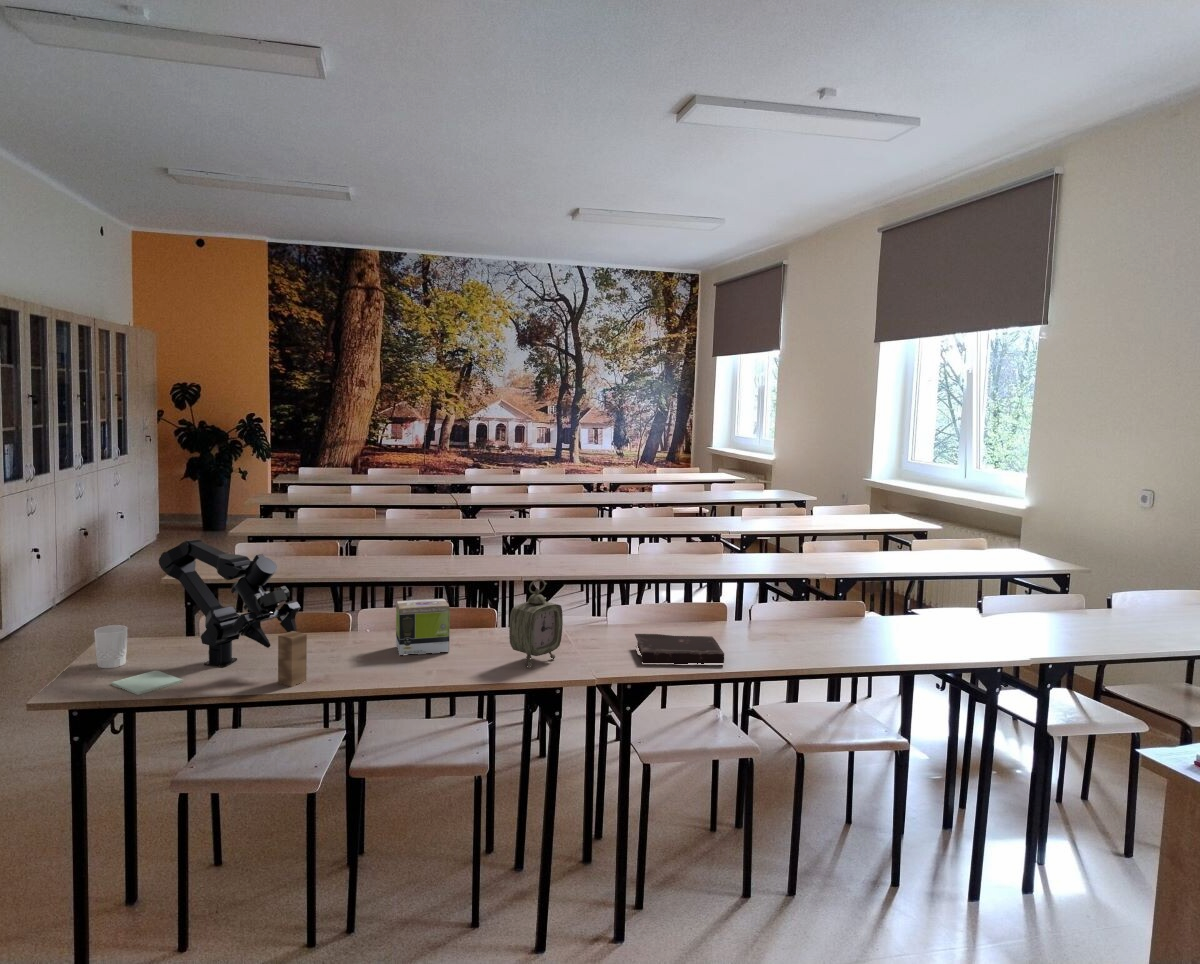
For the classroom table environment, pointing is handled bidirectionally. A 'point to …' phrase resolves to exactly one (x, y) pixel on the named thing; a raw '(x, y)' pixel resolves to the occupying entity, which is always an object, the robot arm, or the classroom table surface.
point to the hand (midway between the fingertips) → (283, 642)
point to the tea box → (422, 626)
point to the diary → (679, 649)
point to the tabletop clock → (536, 626)
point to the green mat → (146, 682)
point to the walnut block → (292, 658)
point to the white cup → (111, 646)
